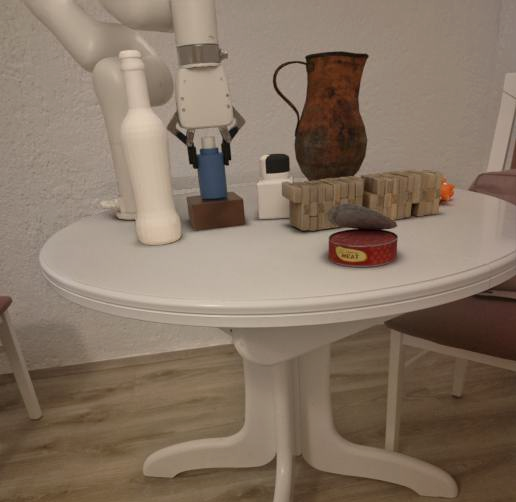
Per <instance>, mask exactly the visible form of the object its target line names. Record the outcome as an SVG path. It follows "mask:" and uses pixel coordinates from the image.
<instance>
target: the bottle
mask: <svg viewBox="0 0 516 502" xmlns="http://www.w3.org/2000/svg"><path fill="white" fill-rule="evenodd" d="M141 58H142V56H141V53H140V52H139V51H137V50H126V51H121V52H120V53H119V59H120V62H121V71H122V73H123V80H124V87H125V93H126V100H127V107H128V111H127V114H126V116H125V118H124V120H123V122H122V125H121V128H120V142H121V146H122V151H123V155H124V159H125V163H126V167H127V172H128V176H129V180H130V184H131V188H132V193H133V197H134V201H135V206H136V220H134V227H135V232H136V235H137V238H138V240H139V242H140V243H141V244H142V245H147V246H160V245H161V246H163V245H167V244H172V243H175V242H177V241H178V240H180V238H181V236H182V223H181V218H180V215H179V213H178V211H177V210H176V206H175V200H174V190H173V189H174V188H173V178H172V165H171V154H170V143H169V135H168V130H167V129H166V126H165V124H164V123H163V121H162V119H160V117H159V116H158V115H157V114H156V113H155V112H154V110H153V109H152V107H151V106H150V100H149V94H148V89H147V83H146V77H145V65H144V64H143V62H142V60H141Z"/></svg>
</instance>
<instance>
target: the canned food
mask: <svg viewBox="0 0 516 502" xmlns="http://www.w3.org/2000/svg"><path fill="white" fill-rule="evenodd" d="M327 218H328V220H329V221H330V223H332V224H334V225H337V226H341V227H342V228H346V229H344V230H340V231H337V232H333V233H332V234H330V235H329V236H328V259H329V261H330V262H331V263H334V264H335V265H338V266H344V267H350V268H372V267H379V266H385V265H387V264H390V263H393V262H394V261H395V260H396V259H397V251H398V238H399V235H398V234H397V233H395V232H393V231H390V230H391V229H395V228H397V227H398V224H397V221H395V220H391V219H390V218H389V217H387V216H385V215H382V214H380V213H378V212H376V211H374V210H371V209H368V208H365V207H363V206H360V205H356V204H349V203H343V204H341V205H334V206H333V207H332V208H331V209H330V210H329V213H328V216H327ZM348 228H349V229H348Z"/></svg>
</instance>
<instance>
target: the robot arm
mask: <svg viewBox="0 0 516 502" xmlns="http://www.w3.org/2000/svg"><path fill="white" fill-rule="evenodd" d="M22 2H23V4H24V5H25V7H26V8H27V9H28V10H29V12H30V13H31V14H32V15H33V16H34V17H35V18H36V19H37V20H38V21H39V22H40V23H41V24H42V25H43V26H44V27H45V28H47V30H49V32H51V34H52V35H53V36H54V37H55V38H56V40H57V41H58V42H59V43H60V44H61V46H62V47H63V48H64V49H65V51H66V52H67V53H68V54H69V55H70V56H71V58H72V59H73V60H74V61H75V62H76V63H77V64H78V65H79V67H80V68H82V69H83V70H84V71H86V72H88V73H91V74H92V75H91V81H92V87H93V91H94V93H95V96H96V99H97V102H98V104H99V107H100V110H101V113H102V116H103V120H104V125H105V129H106V132H107V139H108V143H109V148H110V153H111V158H112V164H113V168H114V173H115V179H116V184H117V189H118V195H117V197H115V198H113V199H110V200H107V199H106V200H100V207H101V211H103V210H107V211H108V210H109V211H110V210H117V211H116V212H115V216H116V218H117V219H120V220H127V221H128V220H129V221H135V220H136V206H135V201H134V197H133V193H132V188H131V184H130V180H129V176H128V172H127V167H126V163H125V159H124V155H123V151H122V146H121V142H120V128H121V125H122V122H123V120H124V118H125V116H126V114H127V111H128V107H127V100H126V93H125V87H124V80H123V73H122V71H121V62H120V59H119V53H120V52H121V51H126V50H137V51H139V52H140V53H141V56H142V58H141V60H142V62H143V64H144V65H145V77H146V83H147V89H148V94H149V100H150V106H151V108H157V107H161V106H162V107H163V106H164V105H166V104H167V103H168V102H170V101H171V99H172V97H173V95H174V98H175V99H174V100H175V109H176V110H175V112H174V113H173V115H172V116H171V119H169V121H168V123H167V124H166V126H165V128H166V131H167V132H169V133H170V134H171V135H173V136H174V137H176V138H177V139H178V141H180V142H181V143H183V144H184V145H185V146H186V149H187V157H188V163H189V165H192V169H194V170H197V168H198V161H197V154H198V153H197V147H196V146H195V143H194V140H195V139H194V138H195V134H196V130H202V129H203V130H205V129H212V128H213V129H215V128H216V129H217V128H218V131H219V134H220V136H221V143H220V147H221V148H220V150H221V152H223V153H224V164H225V167H228V166H230V161H232V151H231V143H232V141H233V139H234V138H235V137H236V135H237V134H238V133H239V132H240V130H241V129H242V128H243V126H244V125H245V124H246V123H247V122H246V119H245V118H244V117H243V116H242V115H241V114H240V112H239V111H238V110H237V109H236V107H234V106H233V103H232V102H233V101H232V96H231V90H230V84H229V83H230V82H229V80H228V75H227V71H226V67H225V66H224V65H221V63H222V61H223V60H226V59H229V52H228V50H227V49H222V48H221V46H220V43H219V32H218V21H217V12H216V11H217V10H216V1H215V0H98V2H99V4H100V6H101V7H102V9H104V11H105V12H107V13H108V14H109V15H110V16H112V17H113V18H114V19H115V20H116V21H118V22H119V23H117V22H108V21H107V22H106V21H101V20H97V19H95V18H94V17H92V16H91V14H89V13H88V12H87V11H86V9H85V8H84V7H83V6H82V4H80V3H79V2H78V1H77V0H22ZM138 31H142V32H157V33H165V34H166V33H167V34H174V38H175V39H174V40H175V47H176V55H177V63H178V64H177V65H178V69H175V70H174V78H173V75H172V72H171V70H170V67H169V66H168V65H167V63H166V62H165V61H164V60H163V58H162V57H161V56H160V55H159V54H158V53H157V51H156V50H154V48H153V46H151V44H150V43H149V42H147V40H146V39H145V38H144V37H143V35H141V34H140V33H139V32H138ZM233 122H235V123H234V124H233ZM232 124H233V126H231V128H230V129H228V126H230V125H232ZM177 125H178V126H179V127H180V128H182V129H184V130H186V132H185V134H184V133H183V132H182V131H180V130H179V129H178V128H177Z"/></svg>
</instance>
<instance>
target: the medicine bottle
mask: <svg viewBox="0 0 516 502" xmlns="http://www.w3.org/2000/svg"><path fill="white" fill-rule="evenodd" d="M258 161H259V175H260V178H259V180H258V182H257V183H256V196H257V197H256V198H257V212H258V219H259V220H277V219H278V220H279V219H290V209H289V199H287V198H285V197H284V196H282V182H287V181H288V182H290V183H295V181H294V176H290V175H291V165H290V162H291V161H290V156H289V155H288V154H286V153H269V154H264V155H262V156H260V158H259V159H258Z"/></svg>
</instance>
